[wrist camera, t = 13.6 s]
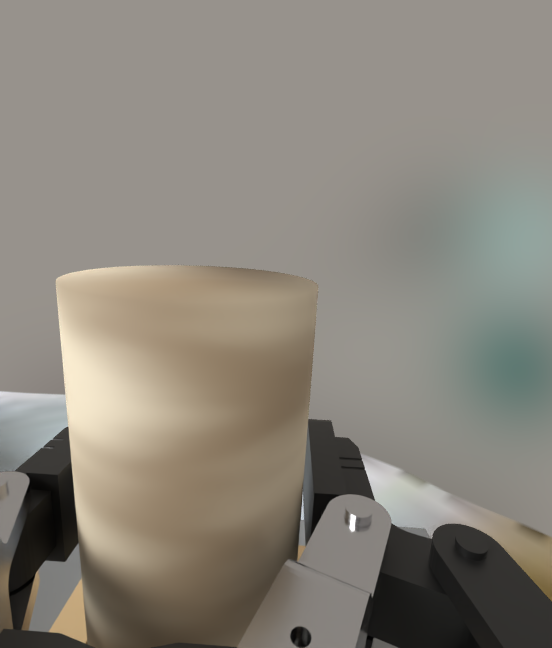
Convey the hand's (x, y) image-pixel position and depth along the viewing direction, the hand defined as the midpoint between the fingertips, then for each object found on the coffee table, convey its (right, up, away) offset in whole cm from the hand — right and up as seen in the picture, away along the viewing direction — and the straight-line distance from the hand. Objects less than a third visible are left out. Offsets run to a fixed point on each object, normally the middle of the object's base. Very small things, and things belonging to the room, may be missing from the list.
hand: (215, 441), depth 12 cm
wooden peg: (0, -9, -1) cm, 9 cm away
